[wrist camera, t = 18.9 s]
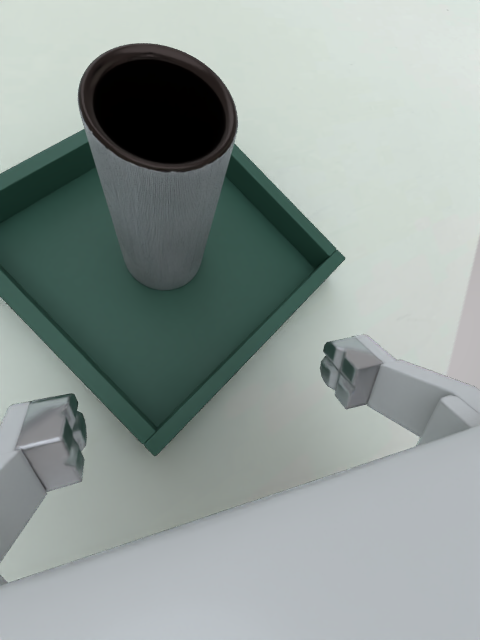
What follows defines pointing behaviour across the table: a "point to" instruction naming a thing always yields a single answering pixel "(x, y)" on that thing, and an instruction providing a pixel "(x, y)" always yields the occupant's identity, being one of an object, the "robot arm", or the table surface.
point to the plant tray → (146, 303)
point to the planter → (158, 154)
